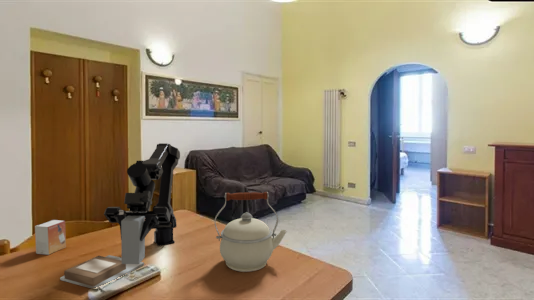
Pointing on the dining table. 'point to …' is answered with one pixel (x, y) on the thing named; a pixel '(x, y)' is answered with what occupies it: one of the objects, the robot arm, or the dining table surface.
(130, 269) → the plinth
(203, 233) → the dining table surface
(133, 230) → the post
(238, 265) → the kettle
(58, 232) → the small box
